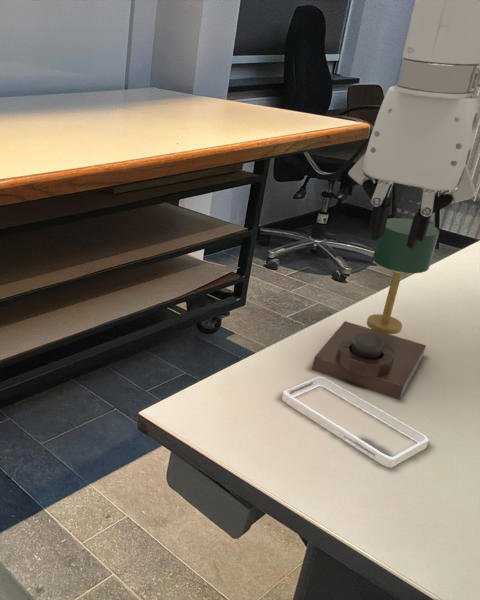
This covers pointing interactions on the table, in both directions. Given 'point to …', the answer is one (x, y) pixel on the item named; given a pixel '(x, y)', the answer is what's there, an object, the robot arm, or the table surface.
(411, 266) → the lamp
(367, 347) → the lamp switch
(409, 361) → the lamp base
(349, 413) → the table surface
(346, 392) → the phone case
